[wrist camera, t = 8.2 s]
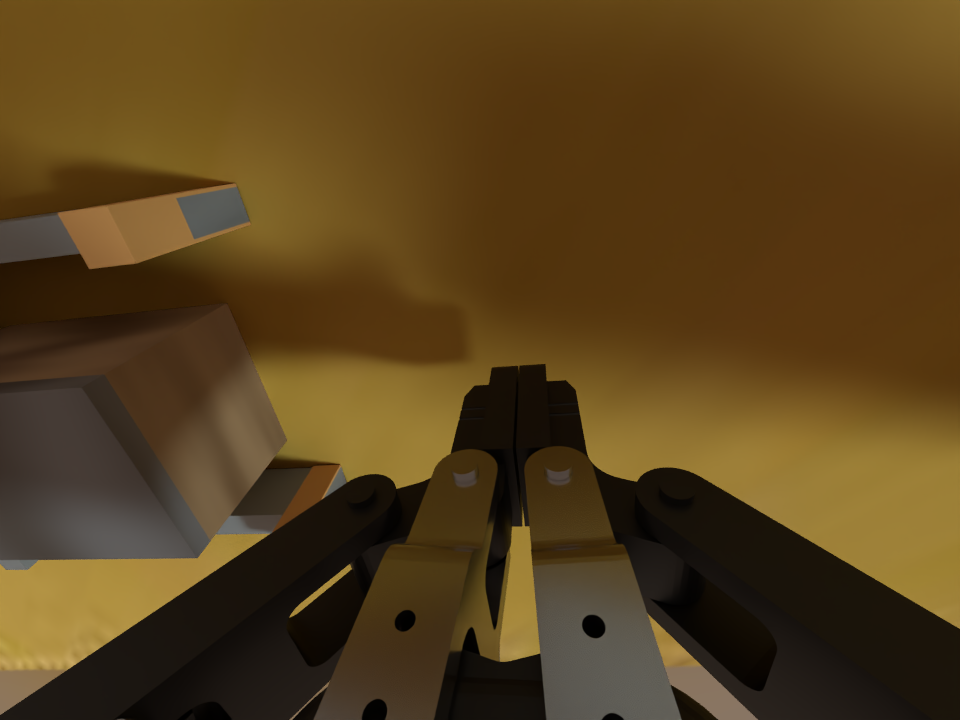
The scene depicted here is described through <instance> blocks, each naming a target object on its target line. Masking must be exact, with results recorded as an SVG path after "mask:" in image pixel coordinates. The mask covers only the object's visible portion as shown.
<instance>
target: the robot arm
mask: <svg viewBox="0 0 960 720" xmlns="http://www.w3.org/2000/svg"><path fill="white" fill-rule="evenodd" d="M522 512H524V521H525V526H529V527H530V538H531V554H532V565H533V577H534V588H535V599H536V610H537V621H538V632H539V643H540V654H537V655H533V656H529V657H525V658H521V659H517V660H513V661H508V662H500V636H501V628H502V620H503V613H504V605H505V597H506V589H507V582H508V574H509V566H510V556H511V555H510V545H511V532H512V526H522ZM349 564H350V565H351V568H352V570H350V571H349V572H348V573H347V574H346V575H344V576H343V577H342V578H341V579H339V580H338V581H337V582H336V583H335V584H333V585H332V586H331V587H330V588H328V589H327V590H326V591H325V592H324V593H322V594H321V595H320V596H319V597H317V598H316V599H315V600H314V601H313V602H311V603H310V604H309V605H308V606H306V607H305V608H304V609H303V610H302V611H300V612H299V613H298V614H296V615H295V616H293V617H290V615H291V613H292V612H293V611H294V609H295V608H296V607H297V606H298V605H299V604H300V603H302V602H303V601H304V600H305V599H306V598H308V597H309V596H310V595H311V594H313V593H314V592H315V591H316V590H318V589H319V588H320V587H321V586H323V585H324V584H325V583H326V582H328V581H329V580H330V579H331V578H333V577H334V576H335V575H336V574H338V573H339V572H340V571H341V570H342V569H344V568H345V567H346V566H347V565H349ZM647 613H648V614H649V615H650V616H651V617H652V618H653V619H654V620H655V621H656V622H657V623H658V624H659V625H660V626H661V627H662V628H663V629H664V630H665V631H666V632H667V633H669V634H670V635H671V636H672V637H673V638H674V639H675V640H676V641H677V642H678V643H679V644H680V645H681V646H682V647H683V648H684V649H685V650H686V651H687V652H688V653H689V654H690V655H691V656H692V657H693V658H695V659H696V660H697V661H698V662H699V663H700V664H701V665H702V666H703V667H704V668H705V669H706V670H707V671H708V672H709V673H710V674H711V675H712V676H713V677H714V678H715V679H716V680H717V681H718V682H720V683H721V684H722V685H723V686H724V687H725V688H726V689H727V690H728V691H729V692H730V693H731V694H732V695H733V696H734V697H735V698H736V699H737V700H738V701H739V702H740V703H741V704H742V705H743V706H745V707H746V708H747V709H748V710H749V711H750V712H751V713H752V714H753V715H754V716H755V717H756V718H757V719H758V720H960V629H959V628H957V627H955V626H954V625H952V624H950V623H949V622H947V621H945V620H943V619H942V618H940V617H938V616H937V615H935V614H933V613H932V612H930V611H928V610H926V609H925V608H923V607H921V606H920V605H918V604H916V603H915V602H913V601H911V600H909V599H908V598H906V597H904V596H903V595H901V594H899V593H897V592H896V591H894V590H892V589H891V588H889V587H887V586H886V585H884V584H882V583H880V582H879V581H877V580H875V579H874V578H872V577H870V576H869V575H867V574H865V573H863V572H862V571H860V570H858V569H857V568H855V567H853V566H851V565H850V564H848V563H846V562H845V561H843V560H841V559H840V558H838V557H836V556H834V555H833V554H831V553H829V552H828V551H826V550H824V549H823V548H821V547H819V546H817V545H816V544H814V543H812V542H811V541H809V540H807V539H805V538H804V537H802V536H800V535H799V534H797V533H795V532H794V531H792V530H790V529H788V528H787V527H785V526H783V525H782V524H780V523H778V522H777V521H775V520H773V519H771V518H770V517H768V516H766V515H765V514H763V513H761V512H759V511H758V510H756V509H754V508H753V507H751V506H749V505H748V504H746V503H744V502H742V501H741V500H739V499H737V498H736V497H734V496H732V495H731V494H729V493H727V492H725V491H724V490H722V489H720V488H719V487H717V486H715V485H713V484H712V483H710V482H708V481H707V480H705V479H703V478H702V477H700V476H698V475H696V474H694V473H691V472H689V471H686V470H682V469H677V468H657V469H653V470H650V471H648V472H646V473H644V474H643V475H642V476H641V477H640V478H639V479H638V481H637V482H635V481H630V480H625V479H621V478H617V477H614V476H611V475H609V474H606V473H605V472H603V471H601V470H600V469H598V468H597V467H596V466H595V465H594V464H593V463H592V462H591V461H590V459H589V457H588V455H587V451H586V445H585V440H584V434H583V429H582V423H581V418H580V412H579V406H578V401H577V395H576V390H575V389H574V388H573V387H572V386H571V385H570V384H569V383H568V382H567V381H566V380H563V381H547V380H546V366H545V364H537V365H522V366H520V367H519V370H518V366H508V367H492V370H491V376H490V382H489V385H479V386H474V387H473V388H472V389H471V390H470V391H469V392H468V393H467V394H466V396H465V397H464V401H463V405H462V410H461V414H460V420H459V422H458V426H457V430H456V434H455V438H454V442H453V446H452V450H451V454H449V455H447V456H446V457H444V458H443V459H442V460H441V461H440V462H439V463H438V464H437V465H436V467H435V469H434V471H433V474H432V477H431V478H430V479H428V480H425V481H423V482H420V483H417V484H413V485H410V486H406V487H402V488H399V489H396V487H395V484H394V482H393V481H392V480H391V479H390V478H388V477H387V476H384V475H379V474H370V475H364V476H360V477H358V478H355V479H353V480H351V481H349V482H347V483H346V484H344V485H343V486H341V487H340V488H338V489H337V490H335V491H334V492H332V493H331V494H329V495H328V496H326V497H325V498H323V499H322V500H320V501H319V502H317V503H316V504H314V505H313V506H311V507H310V508H308V509H307V510H305V511H304V512H302V513H301V514H299V515H298V516H296V517H295V518H293V519H292V520H290V521H289V522H287V523H286V524H285V525H283V526H282V527H280V528H279V529H277V530H276V531H274V532H273V533H271V534H270V535H268V536H267V537H265V538H264V539H262V540H261V541H259V542H258V543H256V544H255V545H253V546H252V547H250V548H249V549H247V550H246V551H244V552H243V553H241V554H240V555H238V556H237V557H235V558H234V559H232V560H231V561H229V562H228V563H226V564H225V565H223V566H222V567H220V568H219V569H217V570H216V571H214V572H213V573H211V574H210V575H208V576H207V577H205V578H204V579H202V580H201V581H200V582H198V583H197V584H195V585H194V586H192V587H191V588H189V589H188V590H186V591H185V592H183V593H182V594H180V595H179V596H177V597H176V598H174V599H173V600H171V601H170V602H168V603H167V604H165V605H164V606H162V607H161V608H159V609H158V610H156V611H155V612H153V613H152V614H150V615H149V616H147V617H146V618H144V619H143V620H141V621H140V622H138V623H137V624H135V625H134V626H132V627H131V628H129V629H128V630H126V631H125V632H123V633H122V634H120V635H119V636H117V637H116V638H115V639H113V640H112V641H110V642H109V643H107V644H106V645H104V646H103V647H101V648H100V649H98V650H97V651H95V652H94V653H92V654H91V655H89V656H88V657H86V658H85V659H83V660H82V661H80V662H79V663H77V664H76V665H74V666H73V667H71V668H70V669H68V670H67V671H65V672H64V673H62V674H61V675H60V676H58V677H57V678H55V679H53V680H52V681H50V682H49V683H48V684H46V685H45V686H43V687H42V688H40V689H38V690H37V691H36V692H34V693H33V694H31V695H30V696H28V697H27V698H25V699H24V700H22V701H21V702H19V703H18V704H16V705H15V706H13V707H12V708H10V709H9V710H7V711H6V712H4V713H3V714H1V715H0V720H289V719H290V718H292V717H293V715H295V714H296V713H297V712H298V711H299V710H300V709H301V708H302V707H303V706H304V705H305V704H306V703H307V702H308V701H309V700H310V699H311V698H312V697H313V696H314V695H315V694H316V693H317V692H318V691H320V690H321V689H322V687H324V686H325V685H326V684H327V683H328V682H329V681H330V682H329V685H328V687H327V688H326V689H325V690H324V691H322V692H321V693H320V694H318V696H316V697H315V698H314V699H313V700H312V701H311V702H310V703H309V704H307V705H306V706H305V708H303V709H302V710H301V711H300V712H299V714H298V715H297V716H296V717H295V718H294V719H293V720H718V719H716V718H715V717H714V716H713V715H712V714H711V713H710V712H709V711H708V710H707V709H705V708H704V707H703V706H701V705H700V704H699V703H698V702H696V701H695V700H694V699H692V698H691V697H689V696H688V695H687V694H685V693H684V692H682V691H680V690H678V689H677V688H675V687H674V686H672V685H670V682H669V679H668V676H667V673H666V670H665V667H664V664H663V661H662V657H661V654H660V651H659V648H658V645H657V642H656V639H655V636H654V633H653V630H652V626H651V623H650V620H649V617H648V614H647ZM289 617H290V618H289Z"/></svg>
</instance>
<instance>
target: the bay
mask: <svg viewBox="0 0 960 720" xmlns="http://www.w3.org/2000/svg"><path fill="white" fill-rule="evenodd" d="M249 225H251V223H250V221H249V218H248V215H247V213H246V210H245V207H244V205H243V202H242V199H241V197H240V194H239V191H238V189H237V186H236V183H234V184H227V185H220V186H213V187H206V188H199V189H193V190H187V191H181V192H175V193H170V194H164V195H158V196H152V197H146V198H141V199H135V200H129V201H123V202H117V203H111V204H106V205H100V206H94V207H88V208H82V209H76V210H69V211H62V212H55V213H48V214H41V215H34V216H27V217H20V218H12V219H5V220H0V263H8V262H16V261H24V260H32V259H40V258H48V257H57V256H65V255H73V254H81V255H82V257H83V259H84V261H85V262H86V264H87V266H88V268H89V269H94V268H102V267H111V266H119V265H128V264H136V263H139V262H142V261H145V260H148V259H151V258H154V257H157V256H160V255H163V254H166V253H169V252H172V251H175V250H178V249H181V248H184V247H187V246H190V245H193V244H196V243H198V242H201V241H204V240H207V239H210V238H213V237H216V236H219V235H222V234H225V233H228V232H231V231H234V230H237V229H240V228H243V227H246V226H249ZM346 483H347V482H346V479H345V476H344V474H343V471H342V468H341V465H321V466H313V467H312V468H290V469H265V470H264V471H263V473H262V474H261V475H260V476H259V478H258V479H257V480H256V482H255V483H254V484H253V486H252V487H251V488H250V490H249V491H248V492H247V494H246V495H245V496H244V498H243V499H242V500H241V501H240V503H239V504H238V505H237V507H236V508H235V509H234V511H233V512H232V513H231V515H230V516H229V517H228V519H227V520H226V521H225V522H224V524H223V525H222V526H221V528H220V529H219V530H218V532H217V533H216V534H269V533H273V532H274V531H276V530H277V529H279V528H280V527H282V526H283V525H285V524H286V523H287V522H289V521H290V520H292V519H293V518H295V517H296V516H298V515H299V514H301V513H302V512H304V511H305V510H307V509H308V508H310V507H311V506H313V505H314V504H316V503H317V502H319V501H320V500H322V499H323V498H325V497H326V496H328V495H329V494H331V493H332V492H334V491H335V490H337V489H338V488H340V487H341V486H343V485H344V484H346ZM37 561H38V560H0V564H1V565H2V566H3V567H4V568H5V569H6V570H28V569H29V568H30V567H31V566H32V565H34V564H35V563H36V562H37Z"/></svg>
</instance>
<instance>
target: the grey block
mask: <svg viewBox="0 0 960 720" xmlns="http://www.w3.org/2000/svg"><path fill="white" fill-rule="evenodd" d="M286 441H287V439H286V436H285V434H284V432H283V430H282V427H281V425H280V423H279V420H278V418H277V416H276V414H275V411H274V409H273V407H272V404H271V402H270V400H269V398H268V395H267V393H266V391H265V389H264V386H263V384H262V382H261V379H260V377H259V375H258V373H257V370H256V368H255V366H254V363H253V361H252V359H251V357H250V354H249V352H248V350H247V347H246V345H245V343H244V341H243V338H242V336H241V334H240V332H239V329H238V327H237V325H236V322H235V320H234V318H233V316H232V313H231V311H230V309H229V306H228V304H227V303H223V304H214V305H204V306H194V307H185V308H175V309H165V310H156V311H146V312H136V313H127V314H117V315H107V316H98V317H88V318H78V319H69V320H59V321H49V322H40V323H30V324H20V325H11V326H8V327H5V328H2V329H0V560H66V559H159V558H198V557H199V555H200V554H201V553H202V551H203V550H204V549H205V547H206V546H207V545H208V544H209V542H210V541H211V540H212V538H213V537H214V536H215V534H216V533H217V532H218V530H219V529H220V528H221V526H222V525H223V524H224V522H225V521H226V520H227V519H228V517H229V516H230V515H231V513H232V512H233V511H234V509H235V508H236V507H237V505H238V504H239V503H240V501H241V500H242V499H243V498H244V496H245V495H246V494H247V492H248V491H249V490H250V488H251V487H252V486H253V484H254V483H255V482H256V480H257V479H258V478H259V476H260V475H261V474H262V473H263V471H264V470H265V469H266V467H267V466H268V465H269V463H270V462H271V461H272V459H273V458H274V457H275V455H276V454H277V453H278V452H279V450H280V449H281V448H282V446H283V445H284V444H285V442H286Z"/></svg>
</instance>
